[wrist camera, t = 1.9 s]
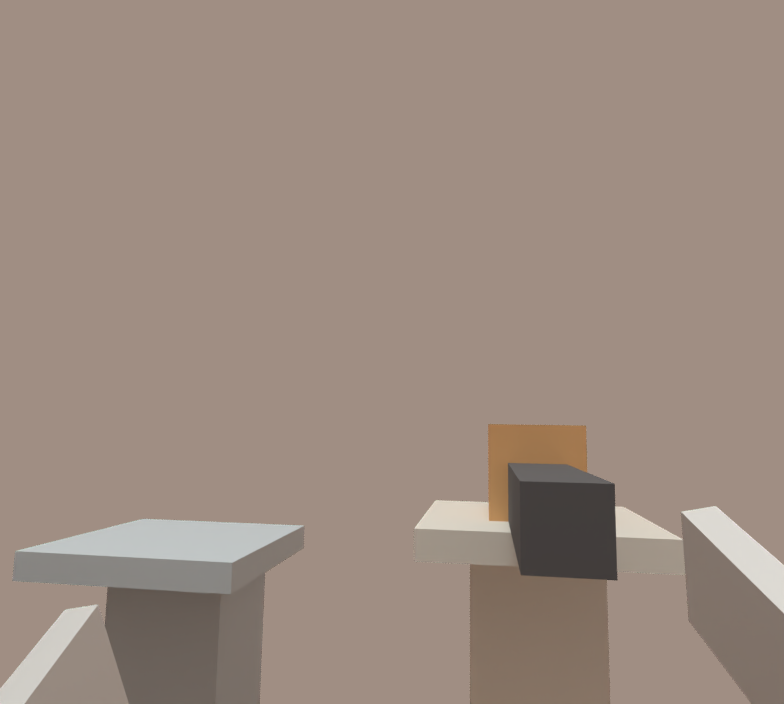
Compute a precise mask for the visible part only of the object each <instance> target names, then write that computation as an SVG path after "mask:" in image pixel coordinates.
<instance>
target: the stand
mask: <svg viewBox="0 0 784 704" xmlns="http://www.w3.org/2000/svg"><path fill="white" fill-rule="evenodd" d="M615 517H616V550H617V572H637V573H655V574H676V575H685V567H684V548H683V539H681V538H679V537H677V536H675V535H674V534H672V533H670V532H668V531H666V530H665V529H663V528H661V527H659V526H657V525H656V524H654V523H652V522H650V521H648V520H646V519H645V518H643V517H641V516H639V515H637V514H636V513H634V512H632V511H630V510H628V509H627V508H625V507H615ZM414 561H417V562H437V563H457V564H470V704H610V678H609V643H608V610H607V609H608V608H607V607H608V606H607V580H601V579H582V578H563V577H544V576H525V575H521V574H520V570H519V565H518V561H517V557H516V552H515V548H514V544H513V539H512V535H511V531H510V526H509V522H506V521H489V502H467V501H466V502H465V501H435V502H434V503H433V505H432V506H431V507H430V509H429V510H428V511H427V512H426V514H425V515H424V516H423V518H422V519H421V521H420V522H419V523H418V524H417V526H416V527H415V528H414Z"/></svg>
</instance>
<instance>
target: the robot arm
mask: <svg viewBox="0 0 784 704" xmlns="http://www.w3.org/2000/svg"><path fill="white" fill-rule="evenodd" d="M681 520H682V534H683V548H684V562H685V574H686V575H685V576H686V589H687V604H688V617H689V622H690V623H691V624H692V626H693V627H694V628H695V630H696V631H697V632H698V634H699V635H700V636H701V638H702V639H703V640H704V642H705V643H706V644H707V646H708V647H709V648H710V649H711V651H712V652H713V654H714V655H715V656H716V657H717V659H718V660H719V662H720V663H721V664H722V665H723V667H724V668H725V669H726V671H727V672H728V673H729V675H730V676H731V677H732V679H733V680H734V681H735V683H736V684H737V685H738V687H739V688H740V689H741V691H742V692H743V693H744V694H745V696H746V697H747V699H748V700H749V701H750V702H751V704H784V565H783V564H782V563H780V561H778V560H777V559H776V558H775V557H774V556H773V555H771V554H770V553H769V552H768V551H767V550H766V549H765V548H763V547H762V546H761V545H760V544H759V543H758V542H756V541H755V540H754V539H753V538H752V537H751V536H750V535H748V534H747V533H746V532H745V531H743V529H741V528H740V527H739V526H738V525H737V524H736V523H734V522H733V521H732V520H731V519H730V518H729V517H728V516H726V515H725V514H724V513H723V512H722V511H721V510H720V509H718V508H717V507H716V506H714V507H708V508H702V509H695V510H689V511H683V512H681ZM0 704H129V703H128V699H127V696H126V693H125V690H124V686H123V683H122V680H121V677H120V673H119V670H118V667H117V664H116V660H115V657H114V654H113V651H112V647H111V644H110V641H109V638H108V634H107V631H106V628H105V625H104V622H103V618H102V615H101V612H100V609H99V605H91V606H85V607H79V608H73V609H66V610H64V612H63V613H62V614H61V615H60V616H59V618H58V619H57V620H56V621H55V623H54V624H53V625H52V626H51V627H50V629H49V630H48V631H47V632H46V634H45V635H44V636H43V637H42V639H41V640H40V641H39V642H38V643H37V645H36V646H35V647H34V648H33V649H32V651H31V652H30V653H29V654H28V656H27V657H26V658H25V659H24V660H23V662H22V663H21V664H20V665H19V667H18V668H17V669H16V670H15V672H14V673H13V674H12V675H11V676H10V678H9V679H8V680H7V681H6V682H5V684H4V685H3V686H2V687H1V689H0Z"/></svg>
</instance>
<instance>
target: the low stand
mask: <svg viewBox="0 0 784 704" xmlns="http://www.w3.org/2000/svg"><path fill="white" fill-rule="evenodd" d="M303 548H304V526H300V525H275V524H253V523H229V522H227V523H226V522H205V521H182V520H158V519H157V520H156V519H140V520H136V521H133V522H129V523H125V524H121V525H117V526H113V527H109V528H105V529H101V530H97V531H93V532H89V533H85V534H81V535H77V536H73V537H69V538H65V539H62V540H57V541H54V542H50V543H45V544H42V545H37V546H34V547H30V548H26V549H22V550H18V551H15V558H14V570H13V581H21V582H38V583H55V584H70V585H86V586H102V587H108V589H107V604H106V617H105V628H106V631H107V634H108V638H109V641H110V644H111V647H112V651H113V654H114V657H115V660H116V664H117V667H118V670H119V673H120V677H121V680H122V683H123V686H124V690H125V693H126V696H127V699H128V703H129V704H260V681H261V657H262V655H261V654H262V633H263V632H262V631H263V609H264V585H265V572H267V571H269V570H270V569H272V568H273V567H275V566H276V565H278V564H280V563H281V562H283V561H284V560H286V559H287V558H289V557H291V556H292V555H294V554H295V553H297V552H298V551H300V550H302V549H303Z"/></svg>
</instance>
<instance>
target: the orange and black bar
mask: <svg viewBox="0 0 784 704" xmlns="http://www.w3.org/2000/svg"><path fill="white" fill-rule="evenodd" d="M488 446H489V447H488V448H489V449H488V451H489V452H488V454H489V456H488V457H489V458H488V462H489V464H488V465H489V521H506V522H509V526H510V531H511V535H512V539H513V544H514V548H515V552H516V557H517V561H518V565H519V570H520V574H521V575H525V576H544V577H563V578H582V579H601V580H617V550H616V517H615V485H614V483H611V482H609V481H606V480H604V479H601V478H599V477H596V476H594V475H592V474H589V473H587V448H586V426H570V425H503V424H499V425H498V424H489V425H488Z"/></svg>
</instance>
